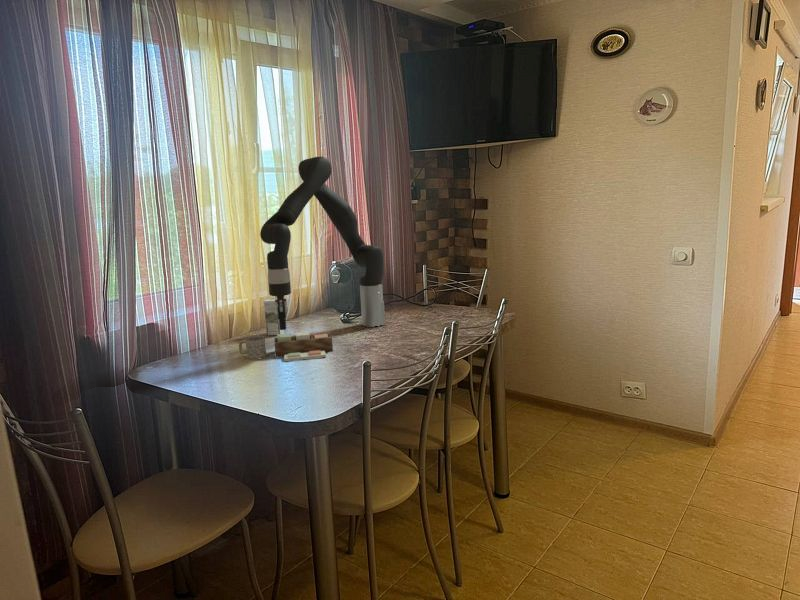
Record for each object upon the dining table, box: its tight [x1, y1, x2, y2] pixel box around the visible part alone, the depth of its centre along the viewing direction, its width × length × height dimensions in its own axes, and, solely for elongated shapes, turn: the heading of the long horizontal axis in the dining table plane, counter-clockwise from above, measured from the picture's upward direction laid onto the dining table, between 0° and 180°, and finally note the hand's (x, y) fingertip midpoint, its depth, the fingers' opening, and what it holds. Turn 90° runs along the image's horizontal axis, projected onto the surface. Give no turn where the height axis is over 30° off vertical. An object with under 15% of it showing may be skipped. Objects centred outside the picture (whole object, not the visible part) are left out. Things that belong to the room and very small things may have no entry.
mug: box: [238, 335, 267, 360], centre depth 202 cm, size 10×7×7 cm
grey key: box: [295, 330, 311, 340], centre depth 205 cm, size 5×5×2 cm
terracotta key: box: [314, 334, 328, 339], centre depth 206 cm, size 5×5×2 cm
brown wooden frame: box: [274, 331, 334, 358], centre depth 205 cm, size 20×8×5 cm, turn 102°
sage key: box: [276, 332, 292, 342], centre depth 204 cm, size 5×5×2 cm
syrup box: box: [263, 297, 285, 337], centre depth 230 cm, size 6×6×14 cm
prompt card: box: [283, 350, 327, 362], centre depth 198 cm, size 14×5×2 cm, turn 102°
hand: (283, 329), depth 203 cm, fingers closed
